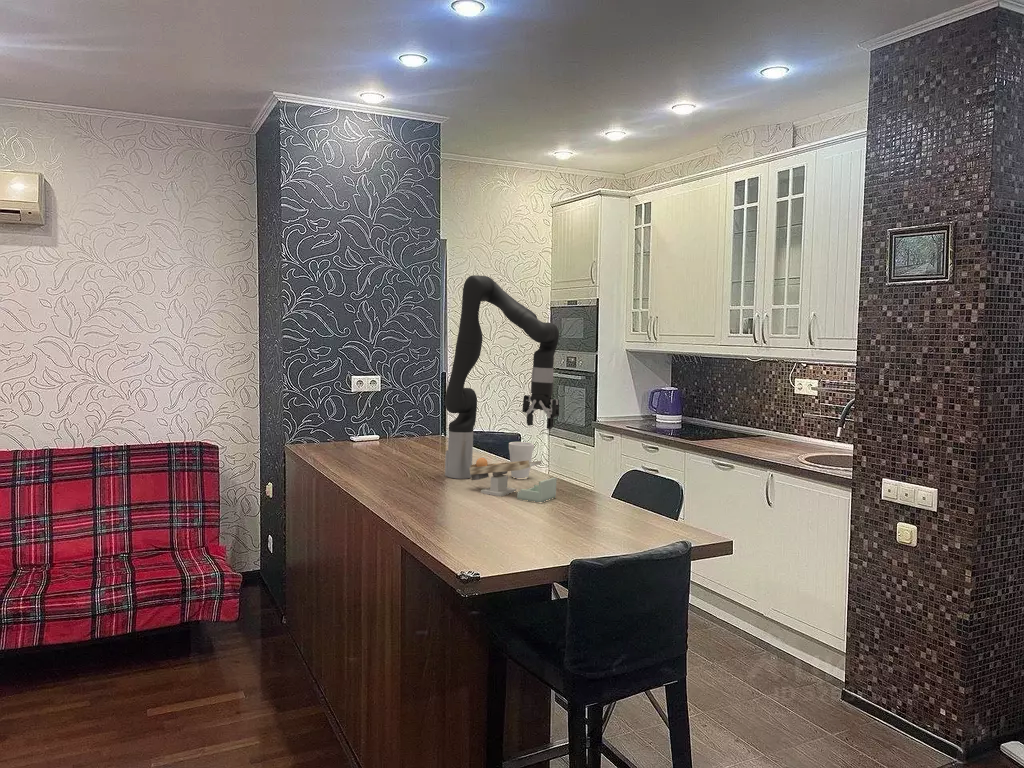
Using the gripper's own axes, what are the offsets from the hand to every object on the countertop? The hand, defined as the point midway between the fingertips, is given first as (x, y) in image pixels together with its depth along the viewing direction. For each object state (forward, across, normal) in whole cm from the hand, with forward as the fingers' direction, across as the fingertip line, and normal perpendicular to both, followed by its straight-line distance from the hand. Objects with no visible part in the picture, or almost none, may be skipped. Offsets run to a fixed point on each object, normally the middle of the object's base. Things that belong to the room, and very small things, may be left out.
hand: (539, 427), depth 273 cm
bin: (+22, +8, -10) cm, 26 cm away
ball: (+14, -14, -13) cm, 24 cm away
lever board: (+17, -7, -8) cm, 20 cm away
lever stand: (+23, -7, -12) cm, 26 cm away
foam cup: (+23, -18, +14) cm, 32 cm away
